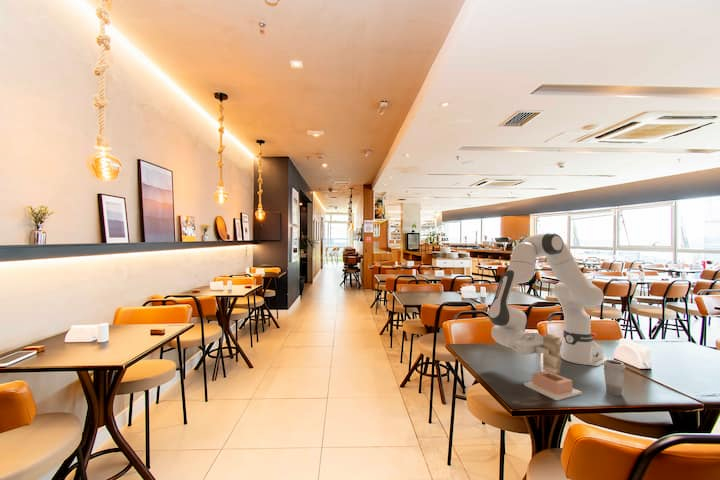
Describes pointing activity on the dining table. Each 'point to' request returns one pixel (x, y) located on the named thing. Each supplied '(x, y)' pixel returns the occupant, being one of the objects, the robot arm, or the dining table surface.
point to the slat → (551, 360)
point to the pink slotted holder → (552, 385)
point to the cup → (614, 376)
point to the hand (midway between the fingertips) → (553, 351)
